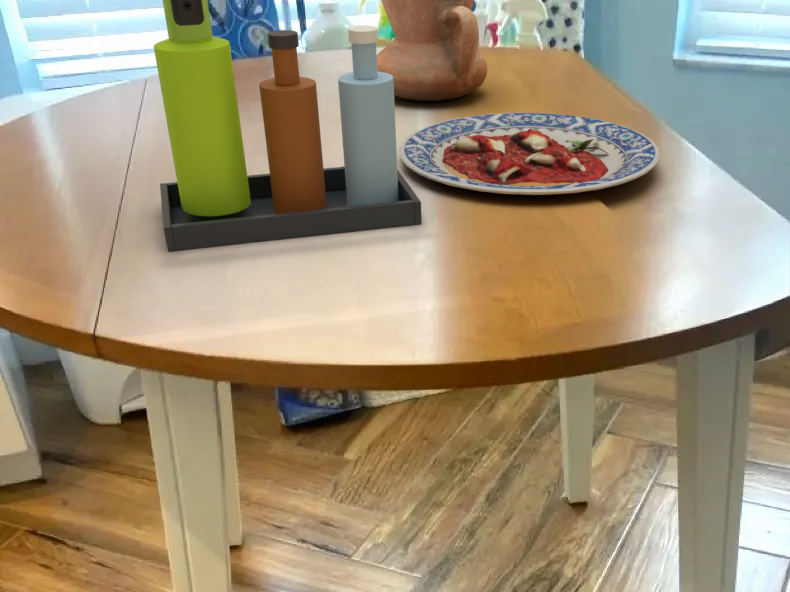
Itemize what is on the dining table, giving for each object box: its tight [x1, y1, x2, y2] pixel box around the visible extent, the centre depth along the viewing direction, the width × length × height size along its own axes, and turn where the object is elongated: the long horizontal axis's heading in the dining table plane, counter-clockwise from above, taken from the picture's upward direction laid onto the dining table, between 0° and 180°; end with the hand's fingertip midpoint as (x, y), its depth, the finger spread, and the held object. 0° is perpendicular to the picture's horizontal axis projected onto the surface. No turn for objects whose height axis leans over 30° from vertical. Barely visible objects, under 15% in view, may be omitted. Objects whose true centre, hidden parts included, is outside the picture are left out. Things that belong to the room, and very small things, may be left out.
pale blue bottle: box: [337, 24, 399, 206], centre depth 82 cm, size 5×5×15 cm
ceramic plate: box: [398, 112, 661, 196], centre depth 96 cm, size 26×26×3 cm
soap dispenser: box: [153, 0, 251, 216], centre depth 77 cm, size 6×7×20 cm
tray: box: [159, 166, 422, 253], centre depth 84 cm, size 21×11×3 cm, turn 106°
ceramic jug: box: [376, 0, 488, 102], centre depth 117 cm, size 18×14×14 cm
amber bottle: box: [258, 29, 327, 214], centre depth 80 cm, size 5×5×15 cm
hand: (187, 15), depth 74 cm, fingers closed on soap dispenser, 5 cm apart
